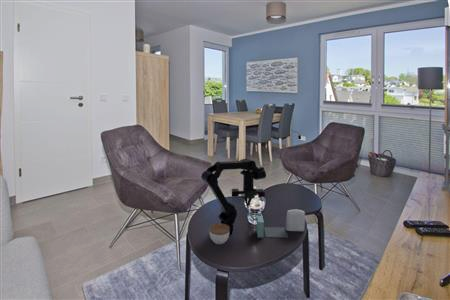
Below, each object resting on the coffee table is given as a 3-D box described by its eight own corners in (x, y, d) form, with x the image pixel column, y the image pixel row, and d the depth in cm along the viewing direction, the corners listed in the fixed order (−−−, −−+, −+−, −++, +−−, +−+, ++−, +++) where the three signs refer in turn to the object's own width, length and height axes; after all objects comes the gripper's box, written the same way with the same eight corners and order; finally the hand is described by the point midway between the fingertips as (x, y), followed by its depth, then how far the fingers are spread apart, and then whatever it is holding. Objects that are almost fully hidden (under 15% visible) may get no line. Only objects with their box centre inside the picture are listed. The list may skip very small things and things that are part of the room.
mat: (266, 237, 162) (266, 236, 162) (263, 227, 172) (263, 227, 172) (288, 237, 161) (288, 237, 161) (284, 228, 172) (284, 227, 172)
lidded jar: (233, 239, 159) (233, 223, 157) (222, 249, 150) (223, 232, 148) (216, 234, 165) (216, 218, 162) (205, 243, 156) (205, 226, 153)
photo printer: (286, 231, 168) (287, 211, 166) (285, 227, 173) (286, 207, 170) (304, 232, 168) (306, 211, 165) (303, 228, 172) (304, 208, 169)
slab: (257, 237, 162) (258, 222, 160) (256, 230, 169) (256, 215, 167) (263, 237, 162) (263, 222, 160) (261, 230, 169) (262, 215, 167)
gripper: (232, 185, 161) (231, 212, 164) (266, 186, 161) (265, 213, 164) (231, 179, 171) (231, 204, 175) (264, 179, 171) (263, 204, 175)
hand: (247, 206), depth 172 cm, fingers closed
